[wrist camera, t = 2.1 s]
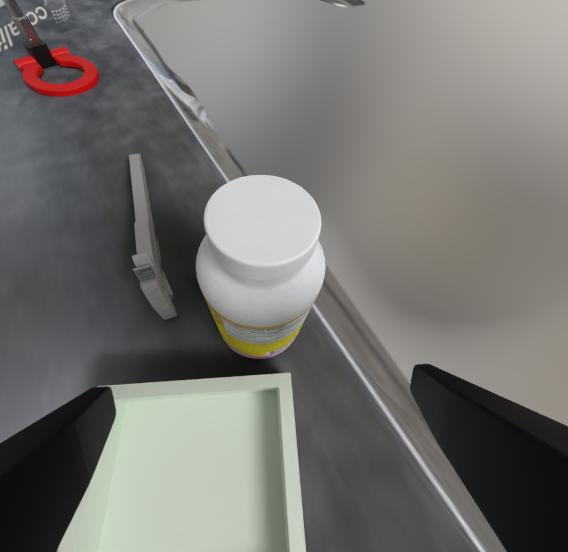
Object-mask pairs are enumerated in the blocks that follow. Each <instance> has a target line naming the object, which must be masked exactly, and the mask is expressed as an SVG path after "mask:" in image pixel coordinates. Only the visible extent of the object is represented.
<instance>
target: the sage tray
mask: <svg viewBox="0 0 568 552" xmlns="http://www.w3.org/2000/svg"><path fill="white" fill-rule="evenodd" d="M107 386H108V387H110V388H111V389H112V392H113V397H114V402H115V407H116V418H115V421H114V423H113V426H112V429H111V431H110V434H109V436H108V439H107V441H106V444H105V447H104V449H103V452H102V454H101V457H100V459H99V462H98V465H97V467H96V470H95V472H94V475H93V477H92V479H91V482H90V484H89V486H88V488H87V490H86V492H85V494H84V496H83V498H82V500H81V502H80V504H79V506H78V508H77V510H76V512H75V515H74V517H73V519H72V521H71V523H70V525H69V527H68V529H67V531H66V533H65V535H64V537H63V539H62V541H61V543H60V545H59V548H58V552H306V547H305V535H304V523H303V512H302V500H301V489H300V477H299V465H298V454H297V442H296V431H295V419H294V408H293V396H292V384H291V373H279V374H265V375H251V376H236V377H222V378H208V379H193V380H179V381H165V382H150V383H136V384H122V385H107ZM97 387H103V386H97Z"/></svg>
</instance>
